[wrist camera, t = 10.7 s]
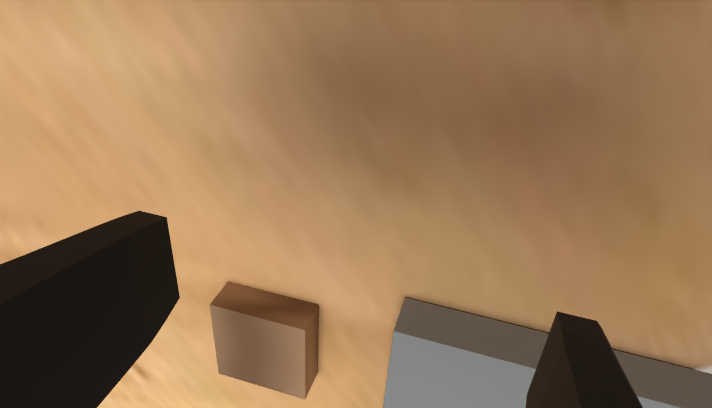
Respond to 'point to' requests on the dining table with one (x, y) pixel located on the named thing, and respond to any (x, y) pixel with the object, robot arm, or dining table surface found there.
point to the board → (503, 365)
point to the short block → (266, 338)
